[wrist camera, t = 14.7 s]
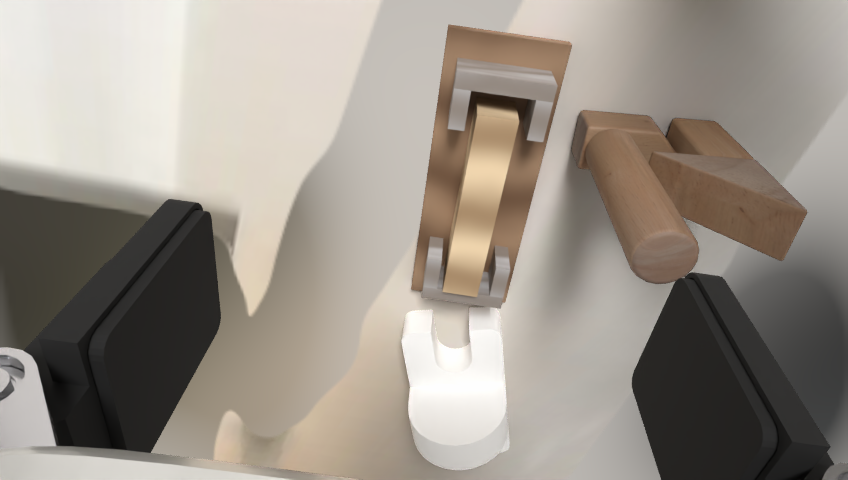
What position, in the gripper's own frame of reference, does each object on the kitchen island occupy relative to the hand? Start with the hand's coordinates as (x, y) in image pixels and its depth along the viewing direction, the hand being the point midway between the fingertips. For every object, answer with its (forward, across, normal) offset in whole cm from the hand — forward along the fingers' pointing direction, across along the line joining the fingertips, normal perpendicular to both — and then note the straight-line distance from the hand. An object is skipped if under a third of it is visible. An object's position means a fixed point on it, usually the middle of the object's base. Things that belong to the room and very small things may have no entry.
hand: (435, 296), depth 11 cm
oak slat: (+33, -4, +15) cm, 37 cm away
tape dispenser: (+35, -6, +37) cm, 51 cm away
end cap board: (+34, -4, +14) cm, 37 cm away
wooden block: (+34, -16, +8) cm, 39 cm away
